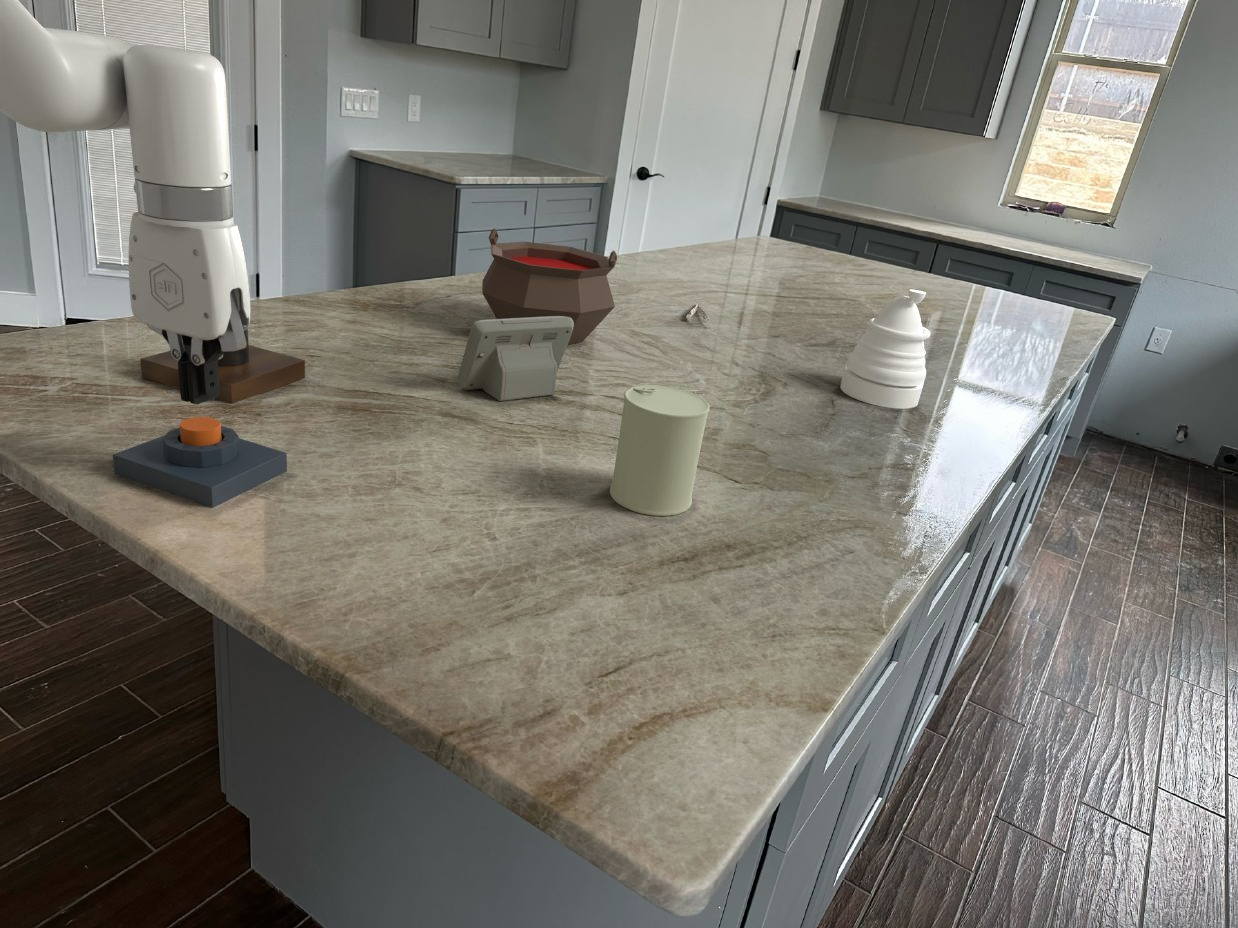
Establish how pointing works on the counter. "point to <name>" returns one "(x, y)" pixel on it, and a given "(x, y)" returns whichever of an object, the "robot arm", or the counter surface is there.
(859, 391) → the honey pot
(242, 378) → the swivel stand
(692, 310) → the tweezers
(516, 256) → the brown cauldron
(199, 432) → the alarm button
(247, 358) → the dark grey cylinder
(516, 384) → the digital clock
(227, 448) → the alarm button base
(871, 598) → the counter surface
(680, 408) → the can
